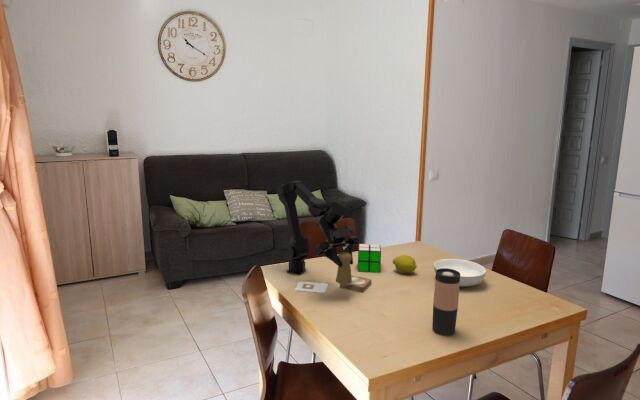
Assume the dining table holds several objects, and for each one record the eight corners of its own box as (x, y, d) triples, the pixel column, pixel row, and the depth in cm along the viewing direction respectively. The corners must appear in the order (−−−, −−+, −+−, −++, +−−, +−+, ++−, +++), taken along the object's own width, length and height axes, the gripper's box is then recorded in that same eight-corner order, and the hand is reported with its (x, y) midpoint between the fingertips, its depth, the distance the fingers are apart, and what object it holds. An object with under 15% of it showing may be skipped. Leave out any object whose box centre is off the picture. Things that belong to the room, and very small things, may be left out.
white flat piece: (294, 290, 174) (294, 289, 174) (299, 282, 182) (299, 281, 182) (324, 293, 172) (324, 292, 172) (328, 284, 180) (328, 283, 180)
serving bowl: (429, 287, 180) (430, 271, 178) (436, 270, 199) (437, 256, 198) (483, 295, 172) (485, 279, 171) (485, 277, 191) (486, 262, 190)
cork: (353, 279, 169) (354, 251, 167) (349, 285, 163) (350, 256, 161) (338, 277, 171) (339, 249, 169) (333, 282, 165) (334, 254, 163)
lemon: (419, 273, 195) (420, 256, 193) (411, 278, 189) (412, 260, 187) (398, 267, 202) (399, 251, 200) (389, 272, 196) (390, 255, 194)
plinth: (339, 287, 177) (339, 282, 177) (348, 279, 186) (348, 274, 186) (363, 292, 173) (363, 287, 173) (371, 283, 182) (371, 278, 182)
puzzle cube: (379, 265, 205) (380, 244, 203) (380, 273, 195) (381, 251, 193) (357, 264, 205) (358, 243, 204) (357, 271, 196) (358, 250, 194)
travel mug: (428, 325, 147) (432, 268, 143) (450, 324, 148) (455, 268, 144) (436, 336, 140) (440, 276, 136) (459, 335, 141) (464, 276, 137)
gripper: (319, 222, 160) (336, 259, 154) (358, 215, 171) (376, 250, 164) (306, 237, 168) (322, 274, 161) (344, 230, 179) (361, 264, 172)
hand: (346, 265), depth 165 cm, fingers closed on cork, 5 cm apart
